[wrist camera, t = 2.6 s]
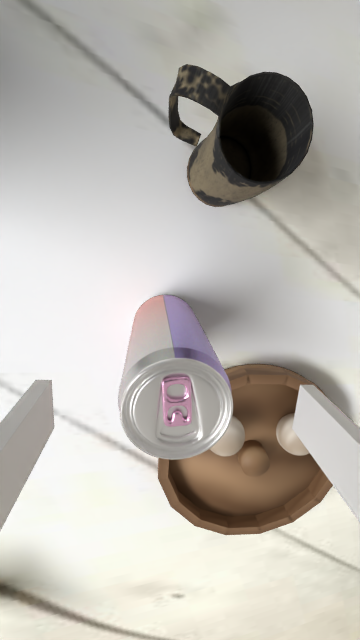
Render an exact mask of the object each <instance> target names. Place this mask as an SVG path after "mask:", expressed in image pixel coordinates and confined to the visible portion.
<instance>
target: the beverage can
mask: <svg viewBox="0 0 360 640" xmlns="http://www.w3.org/2000/svg"><path fill="white" fill-rule="evenodd" d="M118 405H119V411H120V419H121V423H122V427H123V429H124V431H125V433H126V435H127V437H128V438H129V439H130V441H131V442H132V443H133V444H134V445H135V446H136V447H138V448H139V449H140V450H142V451H143V452H145V453H147V454H149V455H152V456H154V457H158V458H162V459H171V460H176V459H185V458H190V457H193V456H196V455H199V454H201V453H203V452H205V451H207V450H208V449H210V448H211V447H212V446H214V445H215V444H216V443H217V442H218V441H219V440H220V439H221V438H222V437H223V435H224V434H225V432H226V431H227V429H228V427H229V425H230V422H231V419H232V415H233V398H232V392H231V385H230V382H229V379H228V376H227V374H226V372H225V371H224V369H223V367H222V365H221V363H220V361H219V359H218V357H217V355H216V354H215V352H214V350H213V348H212V346H211V344H210V342H209V340H208V338H207V337H206V335H205V333H204V331H203V329H202V327H201V325H200V323H199V321H198V320H197V318H196V316H195V314H194V312H193V310H192V309H191V307H190V306H189V305H188V304H187V303H186V302H185V301H183V300H182V299H180V298H178V297H175V296H171V295H159V296H155V297H153V298H150V299H149V300H147V301H146V302H144V303H143V304H142V305H141V306H140V307H139V309H138V310H137V312H136V314H135V317H134V321H133V326H132V331H131V336H130V341H129V346H128V350H127V355H126V360H125V365H124V370H123V375H122V380H121V385H120V389H119V395H118Z"/></svg>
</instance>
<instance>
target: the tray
mask: <svg viewBox="0 0 360 640" xmlns="http://www.w3.org/2000/svg"><path fill="white" fill-rule="evenodd" d="M224 371H225V372H226V374H227V376H228V379H229V382H230V385H231V392H232V398H233V416H235V417H236V418H237V419H238V420H239V421H240V422H241V424H242V425H243V428H244V431H245V441H244V444H243V446H242V448H241V449H240V450H239V451H238V452H237V453H236V454H234V455H232V456H220V455H217V454H215V453H214V452H212V451H211V450H210V449H208V450H207V451H205V452H203V453H201V454H199V455H196V456H193V457H190V458H185V459H176V460H171V459H162V458H158V479H159V482H160V484H161V486H162V488H163V490H164V493H165V495H166V497H167V499H168V501H169V503H170V506H171V507H172V508H173V509H175V510H176V511H177V512H178V513H180V514H181V515H182V516H183V517H185V518H186V519H187V520H188V521H189V522H191V523H192V524H193V525H194V526H197V527H200V528H204V529H207V530H211V531H214V532H217V533H221V534H224V535H240V534H260V533H263V532H266V531H269V530H272V529H275V528H278V527H280V526H283V525H286V524H289V523H292V522H294V521H295V520H296V519H298V518H299V517H301V516H302V515H303V514H305V513H306V512H308V511H309V510H310V509H312V508H313V507H314V506H316V505H317V504H319V503H320V502H321V501H322V499H323V498H324V497H325V495H326V494H327V492H328V491H329V490H330V488H331V487H332V486H333V484H332V483H331V482H330V480H329V479H328V478H327V476H326V475H325V473H324V472H323V471H322V469H321V468H320V466H319V465H318V464H317V462H316V461H315V460H314V458H313V457H312V455H311V454H310V453H309V454H307V455H301V456H299V455H293V454H291V453H289V452H287V451H286V450H285V449H283V448H282V446H281V445H280V443H279V442H278V439H277V436H276V428H277V424H278V422H279V421H280V419H281V418H282V417H284V416H285V415H288V414H291V413H295V410H296V404H297V399H298V393H299V388H300V385H314V386H315V387H316V388H317V389H318V390H320V391H321V392H322V390H321V389H320V388H319V387H317V386H316V385H315V384H314V383H313V382H311V381H309V380H307V379H305V378H304V377H303V376H301V375H299V374H297V373H295V372H294V371H291V370H288V369H285V368H283V367H278V366H274V365H266V364H247V365H241V366H234V367H231V368H228V369H224ZM322 393H323V392H322ZM323 394H324V393H323ZM324 395H325V394H324ZM325 396H326V395H325ZM326 397H327V396H326Z"/></svg>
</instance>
